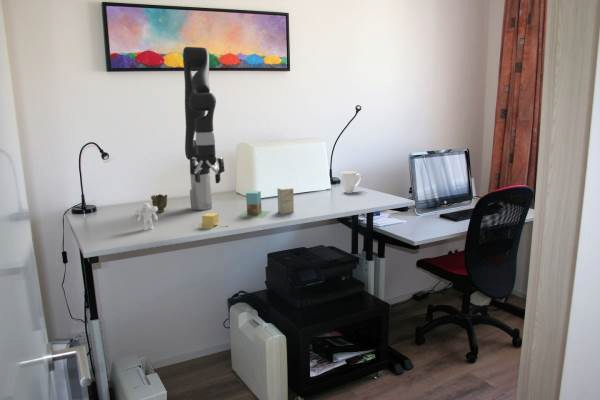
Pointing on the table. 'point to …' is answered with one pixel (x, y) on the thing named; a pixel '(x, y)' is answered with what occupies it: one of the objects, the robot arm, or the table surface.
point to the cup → (159, 202)
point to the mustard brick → (210, 220)
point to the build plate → (254, 215)
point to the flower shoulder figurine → (147, 214)
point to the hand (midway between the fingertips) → (208, 182)
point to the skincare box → (285, 200)
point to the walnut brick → (254, 209)
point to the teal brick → (253, 197)
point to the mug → (349, 180)
